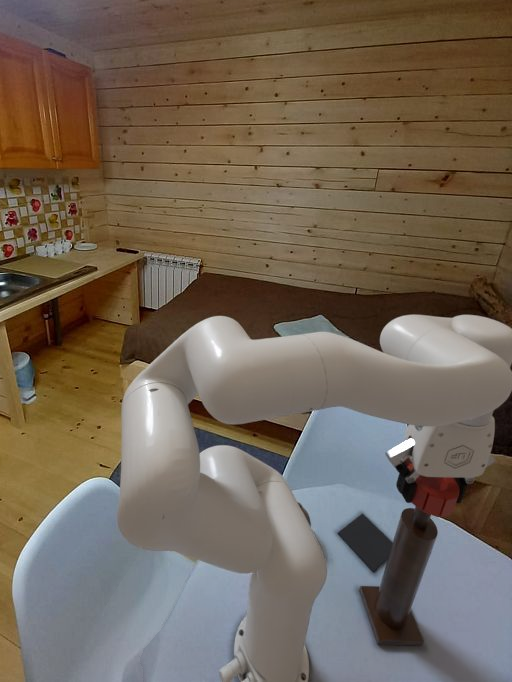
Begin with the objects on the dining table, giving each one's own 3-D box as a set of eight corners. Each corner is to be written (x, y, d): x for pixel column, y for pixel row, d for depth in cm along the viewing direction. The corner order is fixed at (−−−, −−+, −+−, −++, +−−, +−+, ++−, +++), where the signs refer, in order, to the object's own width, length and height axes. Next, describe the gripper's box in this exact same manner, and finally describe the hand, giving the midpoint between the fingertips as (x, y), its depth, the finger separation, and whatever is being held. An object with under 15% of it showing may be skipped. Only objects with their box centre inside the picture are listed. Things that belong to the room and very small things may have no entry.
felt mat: (372, 572, 71) (373, 571, 71) (337, 533, 78) (337, 532, 78) (398, 549, 75) (398, 547, 75) (362, 514, 83) (362, 513, 83)
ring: (439, 526, 49) (445, 508, 48) (393, 487, 55) (398, 470, 54) (462, 504, 53) (468, 486, 51) (416, 469, 58) (421, 453, 57)
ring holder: (377, 644, 60) (413, 530, 51) (358, 590, 68) (387, 482, 58) (422, 645, 60) (467, 532, 51) (398, 591, 68) (434, 483, 58)
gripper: (413, 420, 44) (385, 518, 50) (543, 422, 45) (500, 518, 50) (383, 384, 51) (362, 473, 57) (496, 385, 52) (464, 474, 58)
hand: (427, 493), depth 54 cm, fingers closed on ring, 7 cm apart
